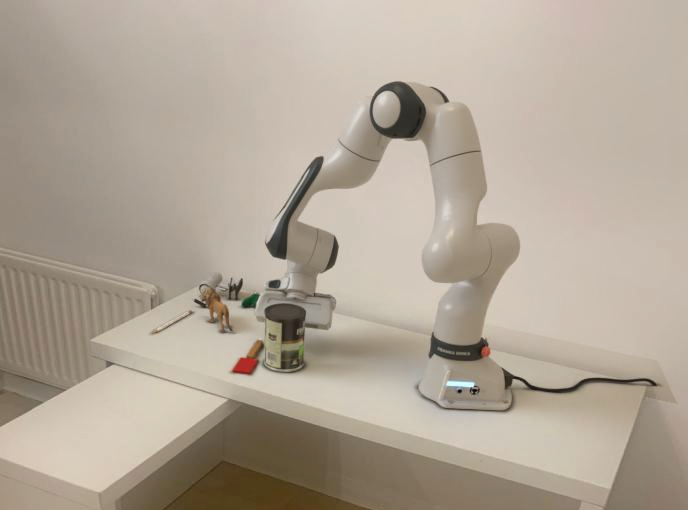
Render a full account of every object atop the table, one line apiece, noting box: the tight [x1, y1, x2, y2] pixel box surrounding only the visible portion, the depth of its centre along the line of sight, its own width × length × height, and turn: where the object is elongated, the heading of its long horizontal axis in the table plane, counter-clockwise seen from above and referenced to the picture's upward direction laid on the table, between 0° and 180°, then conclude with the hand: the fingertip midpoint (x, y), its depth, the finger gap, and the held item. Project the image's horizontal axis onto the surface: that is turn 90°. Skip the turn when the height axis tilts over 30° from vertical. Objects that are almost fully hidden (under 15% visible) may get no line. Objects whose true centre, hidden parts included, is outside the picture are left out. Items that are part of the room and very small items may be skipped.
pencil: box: [153, 310, 192, 334], centre depth 211 cm, size 1×19×1 cm, turn 154°
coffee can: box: [263, 303, 306, 373], centre depth 188 cm, size 10×10×14 cm
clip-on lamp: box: [191, 271, 244, 308], centre depth 226 cm, size 12×6×18 cm
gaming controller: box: [240, 290, 261, 308], centre depth 222 cm, size 9×4×6 cm
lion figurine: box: [198, 287, 234, 333], centre depth 209 cm, size 15×5×9 cm, turn 37°
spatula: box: [232, 339, 264, 375], centre depth 194 cm, size 4×19×1 cm, turn 169°
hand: (289, 340), depth 194 cm, fingers closed, pressing on coffee can
